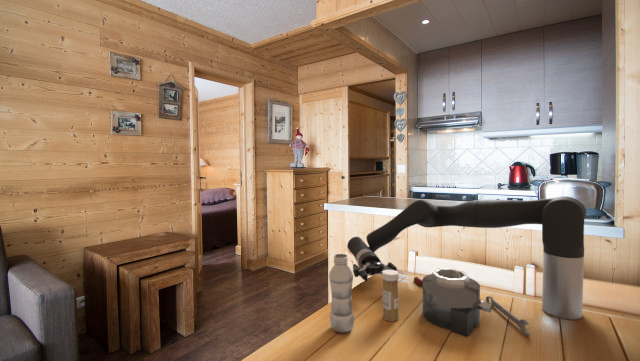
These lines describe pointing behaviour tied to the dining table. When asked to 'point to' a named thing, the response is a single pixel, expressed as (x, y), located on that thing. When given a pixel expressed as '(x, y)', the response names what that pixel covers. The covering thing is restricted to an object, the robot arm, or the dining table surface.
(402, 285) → the dining table surface
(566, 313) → the robot arm
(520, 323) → the combination wrench
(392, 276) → the spice jar
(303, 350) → the dining table surface
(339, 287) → the plastic bottle
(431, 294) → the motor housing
